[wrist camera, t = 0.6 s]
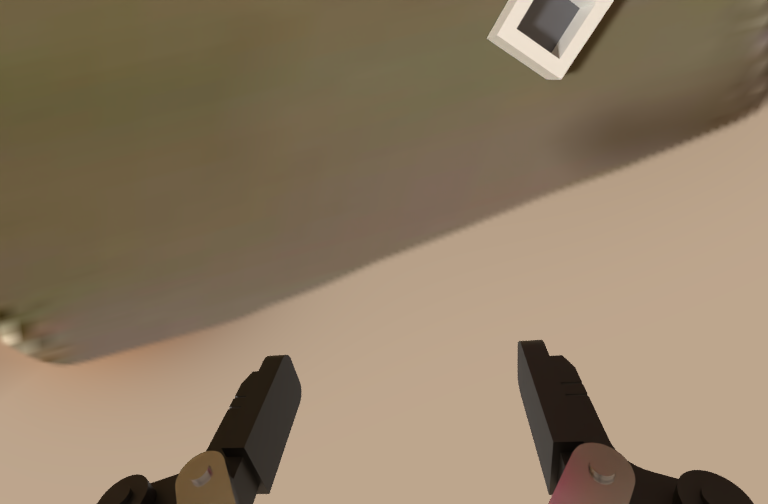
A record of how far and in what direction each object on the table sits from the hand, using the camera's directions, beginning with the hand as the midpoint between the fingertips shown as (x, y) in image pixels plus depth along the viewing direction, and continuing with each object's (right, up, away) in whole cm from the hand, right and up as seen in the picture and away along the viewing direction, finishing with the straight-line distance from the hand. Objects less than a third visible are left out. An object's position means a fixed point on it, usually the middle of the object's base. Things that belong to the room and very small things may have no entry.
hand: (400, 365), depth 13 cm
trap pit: (+11, +22, +16) cm, 29 cm away
